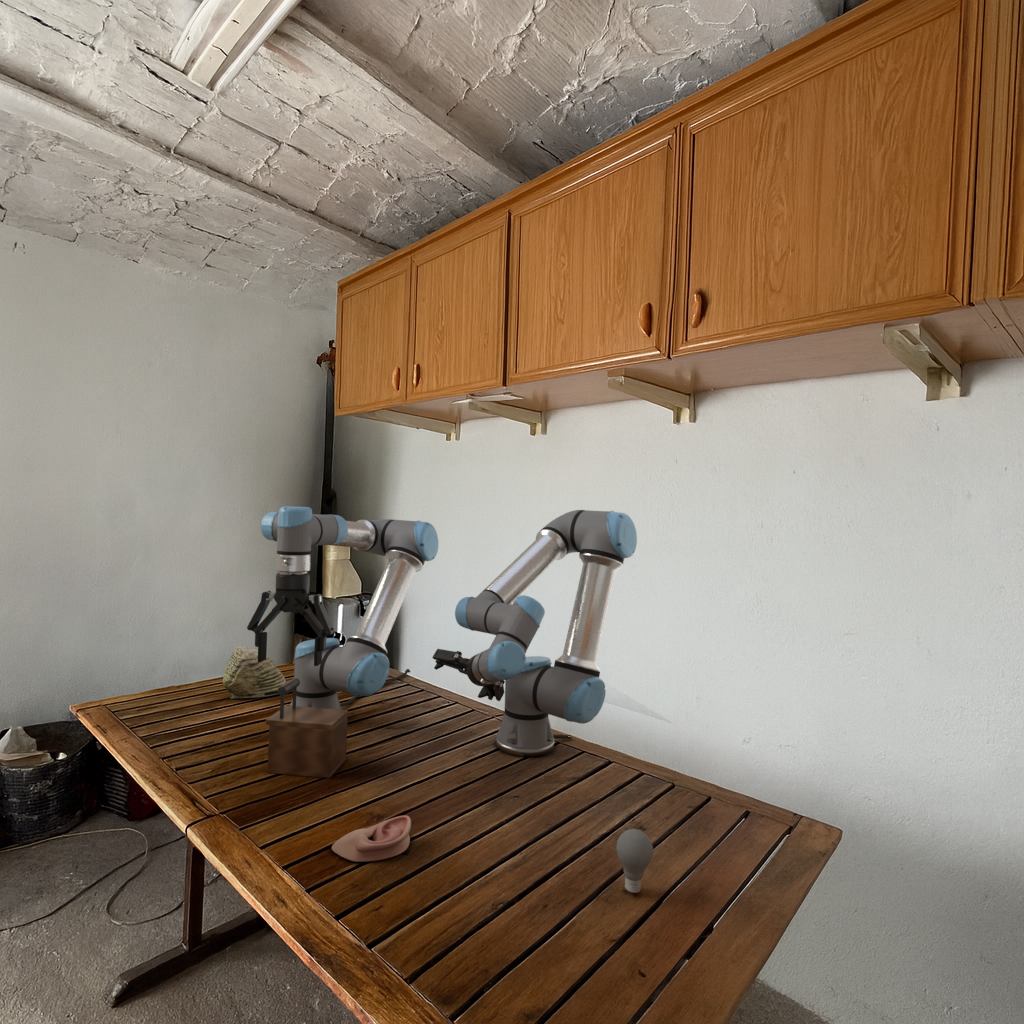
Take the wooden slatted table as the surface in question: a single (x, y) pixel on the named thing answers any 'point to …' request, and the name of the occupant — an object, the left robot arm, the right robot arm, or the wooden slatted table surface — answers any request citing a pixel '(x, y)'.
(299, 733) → the chest
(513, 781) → the wooden slatted table surface
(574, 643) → the right robot arm
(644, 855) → the light bulb
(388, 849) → the anatomical model
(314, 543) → the left robot arm
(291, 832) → the wooden slatted table surface
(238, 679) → the fossil
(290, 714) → the lid
